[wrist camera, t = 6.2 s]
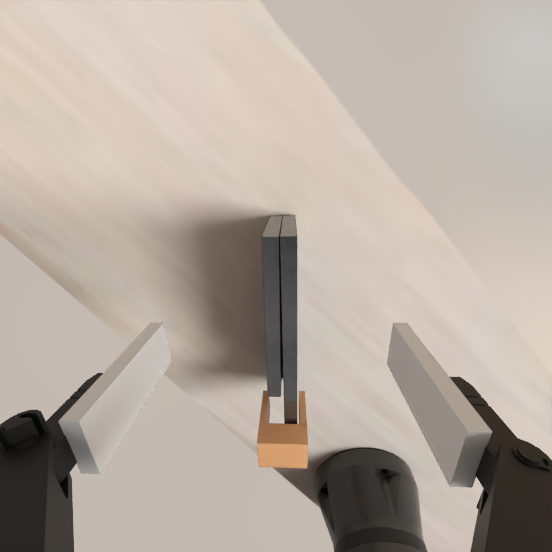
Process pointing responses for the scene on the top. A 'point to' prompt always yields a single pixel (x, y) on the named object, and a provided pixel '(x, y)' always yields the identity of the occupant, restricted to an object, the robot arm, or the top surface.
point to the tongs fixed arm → (289, 315)
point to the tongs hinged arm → (273, 304)
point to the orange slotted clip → (282, 439)
